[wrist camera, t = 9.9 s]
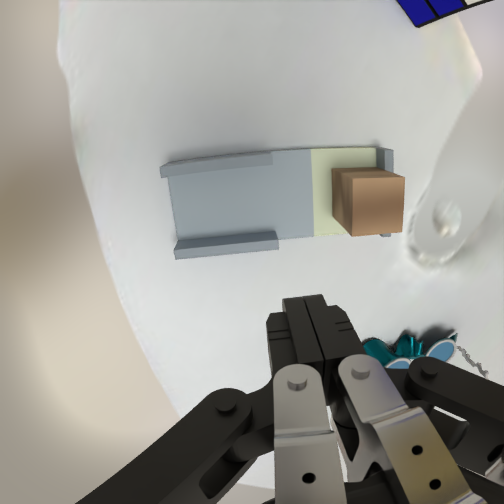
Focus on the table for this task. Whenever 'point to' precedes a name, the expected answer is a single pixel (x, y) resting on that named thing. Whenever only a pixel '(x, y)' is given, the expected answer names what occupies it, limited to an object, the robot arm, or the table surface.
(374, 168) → the block
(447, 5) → the puzzle cube
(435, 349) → the glasses
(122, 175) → the table surface
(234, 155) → the chute
